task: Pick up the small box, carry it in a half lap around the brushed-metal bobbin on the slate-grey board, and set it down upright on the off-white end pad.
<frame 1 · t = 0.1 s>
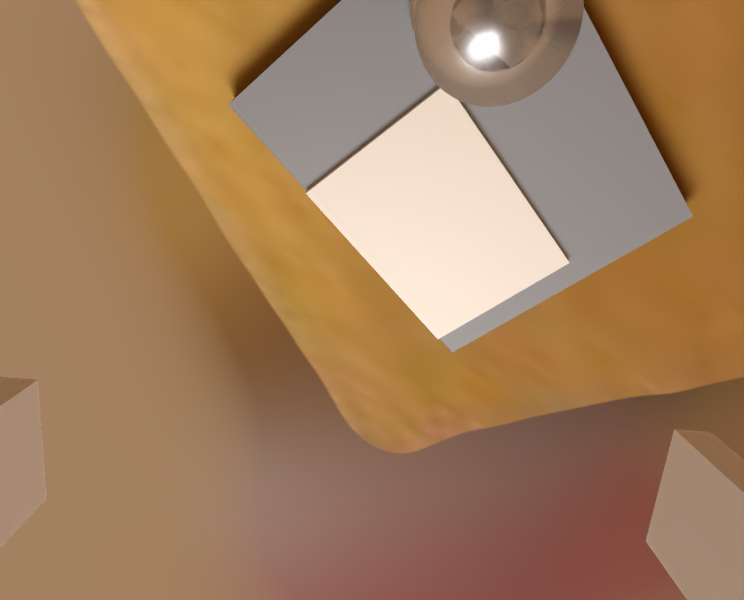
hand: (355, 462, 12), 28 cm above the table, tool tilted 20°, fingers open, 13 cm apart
bobbin: (473, 1, 30), resting on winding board
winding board: (468, 155, 36), on the table
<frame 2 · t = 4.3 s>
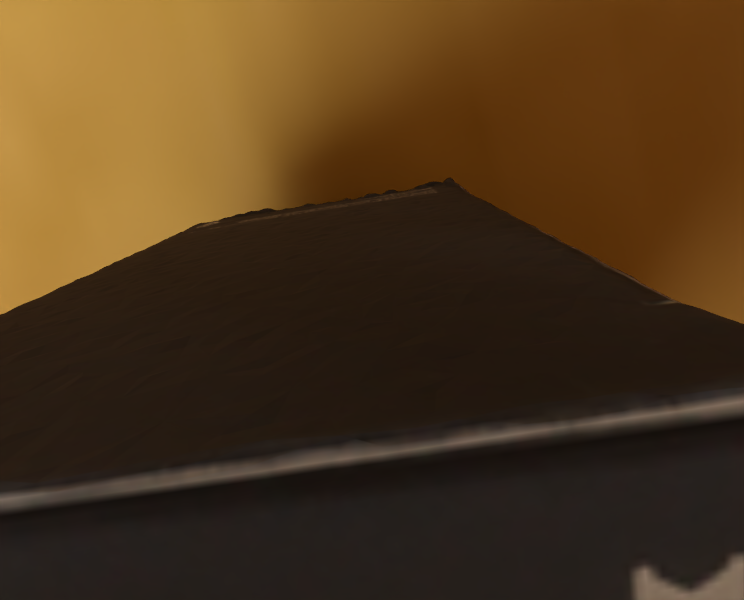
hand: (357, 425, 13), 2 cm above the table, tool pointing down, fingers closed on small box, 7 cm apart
small box: (355, 412, 14), point 2 cm above the table, touching gripper
when the fingers open (3 cm above the table, at t = 10.6 s): small box stays where it is, resting on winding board.
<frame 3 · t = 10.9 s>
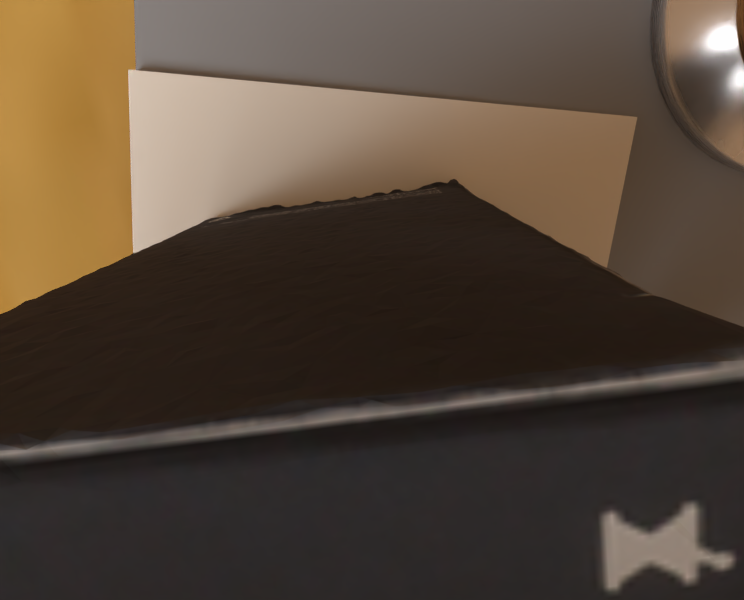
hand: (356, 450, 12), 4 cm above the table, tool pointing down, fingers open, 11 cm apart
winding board: (512, 307, 15), on the table
small box: (357, 404, 14), point 2 cm above the table, touching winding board
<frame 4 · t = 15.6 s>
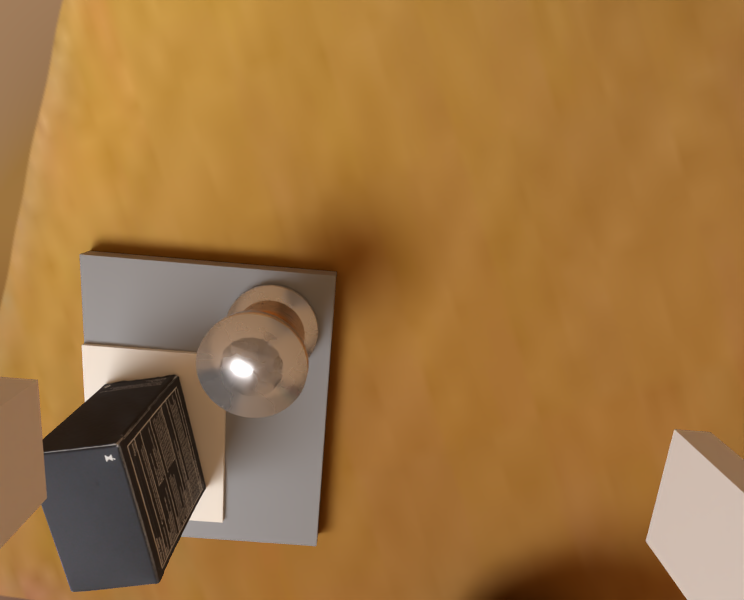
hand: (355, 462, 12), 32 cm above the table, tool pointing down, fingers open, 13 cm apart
bobbin: (273, 327, 42), resting on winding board
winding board: (212, 403, 46), on the table
small box: (156, 436, 45), point 2 cm above the table, touching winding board
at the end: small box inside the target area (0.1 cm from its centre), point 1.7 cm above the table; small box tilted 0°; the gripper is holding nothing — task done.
